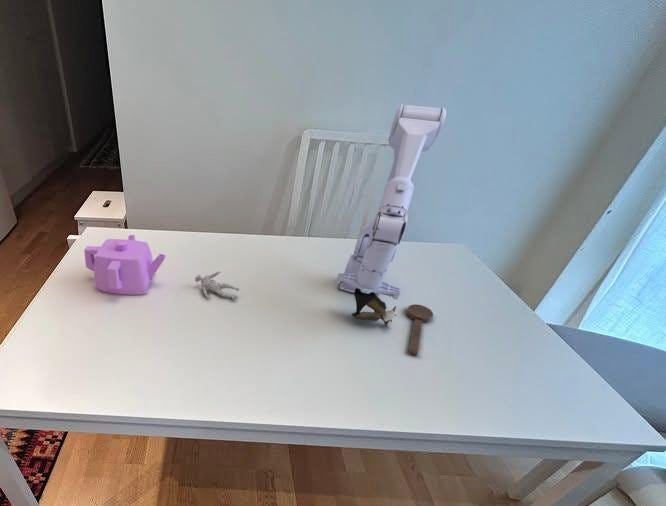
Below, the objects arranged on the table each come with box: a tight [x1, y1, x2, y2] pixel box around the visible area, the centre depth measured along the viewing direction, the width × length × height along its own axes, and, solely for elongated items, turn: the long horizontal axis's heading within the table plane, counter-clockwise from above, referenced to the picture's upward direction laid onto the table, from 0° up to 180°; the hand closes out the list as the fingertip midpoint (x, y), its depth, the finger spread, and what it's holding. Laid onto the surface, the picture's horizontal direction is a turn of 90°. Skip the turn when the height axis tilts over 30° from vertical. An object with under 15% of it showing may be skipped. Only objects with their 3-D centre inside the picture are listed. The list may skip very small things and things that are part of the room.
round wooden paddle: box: [405, 303, 434, 357], centre depth 95 cm, size 20×6×1 cm, turn 153°
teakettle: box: [83, 234, 167, 296], centre depth 104 cm, size 17×17×12 cm
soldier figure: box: [194, 271, 240, 300], centre depth 104 cm, size 8×5×12 cm
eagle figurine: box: [350, 293, 397, 328], centre depth 95 cm, size 8×7×9 cm
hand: (357, 313), depth 97 cm, fingers closed, pressing on eagle figurine
